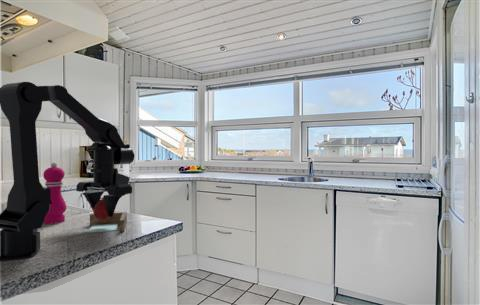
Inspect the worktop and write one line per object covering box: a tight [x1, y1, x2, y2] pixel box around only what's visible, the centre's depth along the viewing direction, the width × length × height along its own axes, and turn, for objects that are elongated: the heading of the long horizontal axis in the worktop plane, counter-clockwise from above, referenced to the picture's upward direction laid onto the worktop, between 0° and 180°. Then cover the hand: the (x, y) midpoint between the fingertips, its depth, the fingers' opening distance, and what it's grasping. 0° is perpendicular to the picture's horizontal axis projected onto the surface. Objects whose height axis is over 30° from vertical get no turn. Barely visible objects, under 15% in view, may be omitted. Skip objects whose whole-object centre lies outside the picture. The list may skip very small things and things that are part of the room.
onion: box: [92, 196, 110, 222], centre depth 88 cm, size 6×6×8 cm
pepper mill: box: [42, 162, 67, 225], centre depth 96 cm, size 7×7×20 cm
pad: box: [87, 223, 119, 234], centre depth 88 cm, size 8×8×1 cm
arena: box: [89, 211, 128, 233], centre depth 88 cm, size 11×12×4 cm
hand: (103, 215), depth 88 cm, fingers closed on onion, 6 cm apart
